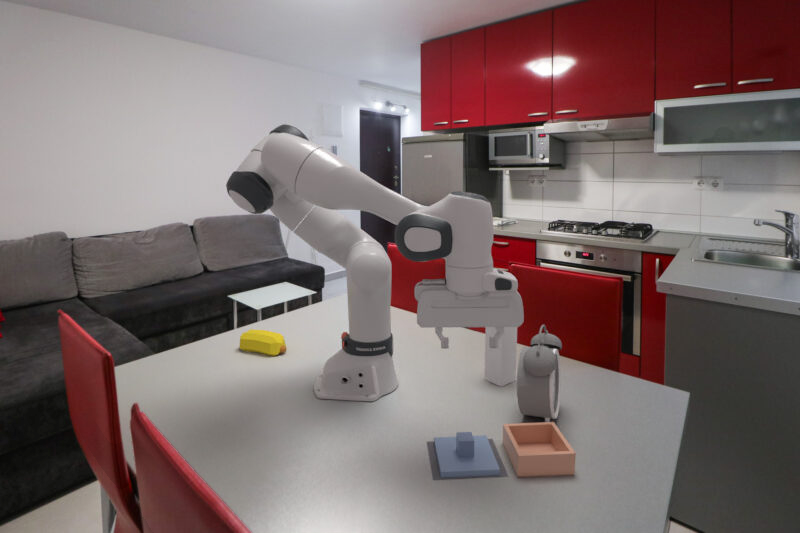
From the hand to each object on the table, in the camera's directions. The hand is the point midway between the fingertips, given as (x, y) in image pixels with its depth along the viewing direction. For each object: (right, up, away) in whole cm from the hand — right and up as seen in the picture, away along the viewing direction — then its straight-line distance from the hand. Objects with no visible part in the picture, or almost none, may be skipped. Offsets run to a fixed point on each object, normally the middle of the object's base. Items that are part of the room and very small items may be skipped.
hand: (469, 347), depth 87 cm
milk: (+14, -15, +35) cm, 41 cm away
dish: (+13, -23, +1) cm, 26 cm away
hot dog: (-58, -12, +59) cm, 84 cm away
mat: (-1, -23, +1) cm, 23 cm away
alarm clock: (+19, -19, +17) cm, 32 cm away
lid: (-1, -22, +1) cm, 22 cm away
